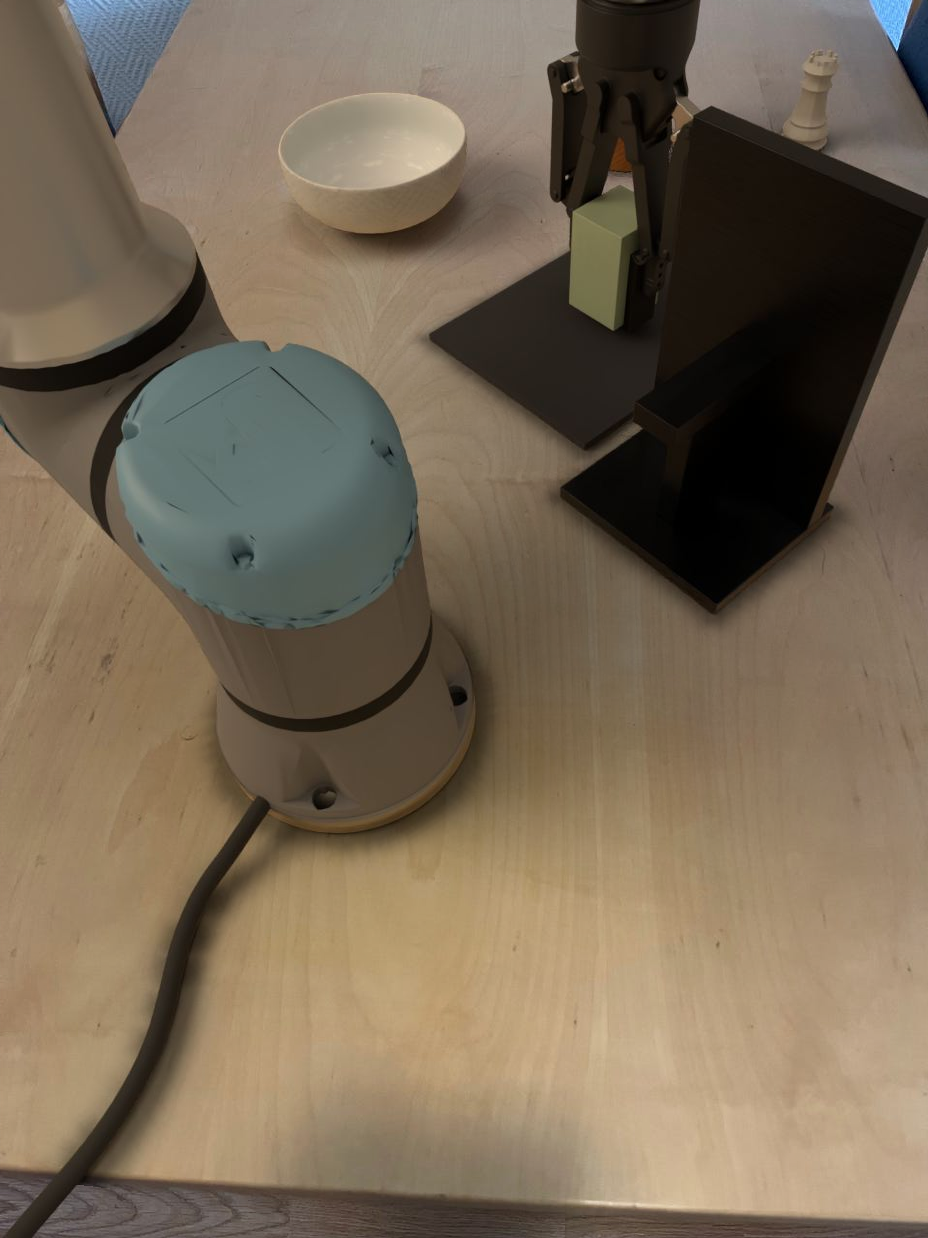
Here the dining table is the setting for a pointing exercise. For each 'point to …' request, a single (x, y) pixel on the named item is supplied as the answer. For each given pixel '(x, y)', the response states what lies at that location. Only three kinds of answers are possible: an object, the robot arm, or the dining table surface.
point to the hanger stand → (757, 356)
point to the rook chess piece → (812, 102)
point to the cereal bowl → (374, 161)
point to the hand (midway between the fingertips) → (612, 306)
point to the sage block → (603, 255)
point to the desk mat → (558, 353)
